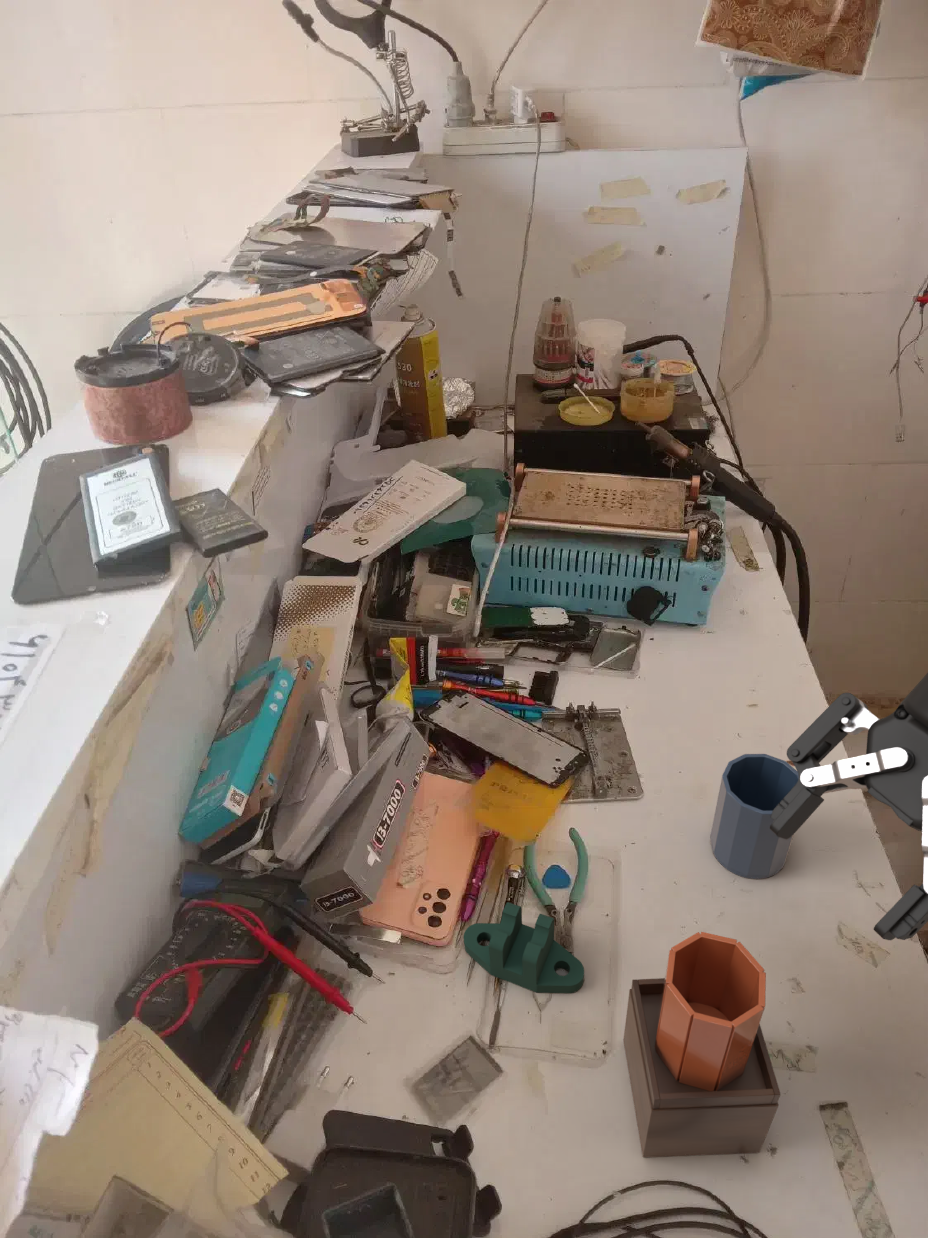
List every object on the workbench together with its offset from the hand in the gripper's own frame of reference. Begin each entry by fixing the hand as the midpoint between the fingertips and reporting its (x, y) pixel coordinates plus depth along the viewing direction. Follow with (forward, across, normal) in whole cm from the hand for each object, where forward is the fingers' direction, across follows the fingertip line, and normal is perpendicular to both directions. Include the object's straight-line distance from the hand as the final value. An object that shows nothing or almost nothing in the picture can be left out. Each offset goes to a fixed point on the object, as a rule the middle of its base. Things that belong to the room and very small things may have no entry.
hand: (827, 882), depth 52 cm
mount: (+25, -15, +5) cm, 30 cm away
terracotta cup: (+15, 0, +3) cm, 16 cm away
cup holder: (+21, 0, +9) cm, 23 cm away
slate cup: (+7, -15, +23) cm, 28 cm away
